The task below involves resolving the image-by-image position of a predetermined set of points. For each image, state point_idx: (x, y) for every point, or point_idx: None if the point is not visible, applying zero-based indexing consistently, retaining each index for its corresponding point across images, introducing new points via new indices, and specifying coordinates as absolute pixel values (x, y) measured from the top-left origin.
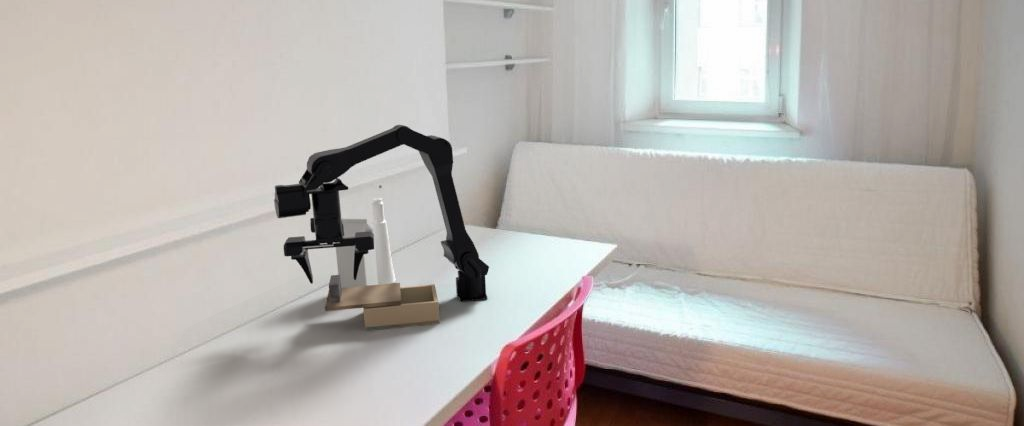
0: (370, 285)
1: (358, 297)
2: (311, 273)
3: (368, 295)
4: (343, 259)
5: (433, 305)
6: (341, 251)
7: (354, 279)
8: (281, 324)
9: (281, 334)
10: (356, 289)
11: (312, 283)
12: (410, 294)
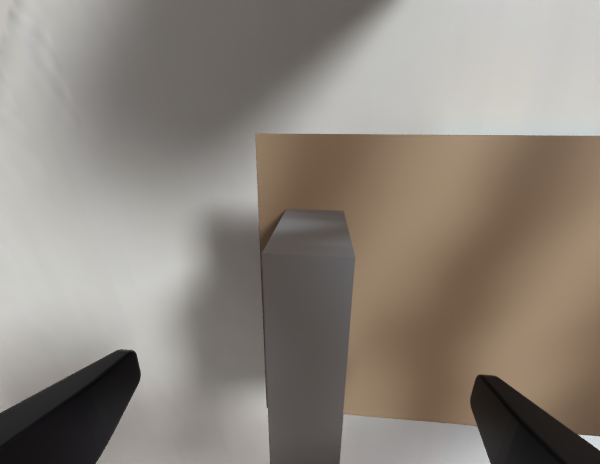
0: (559, 136)
1: (435, 335)
2: (66, 447)
3: (496, 324)
4: None
5: None
6: None
7: (476, 414)
8: (108, 192)
9: (138, 280)
10: (442, 199)
11: (139, 377)
12: None
